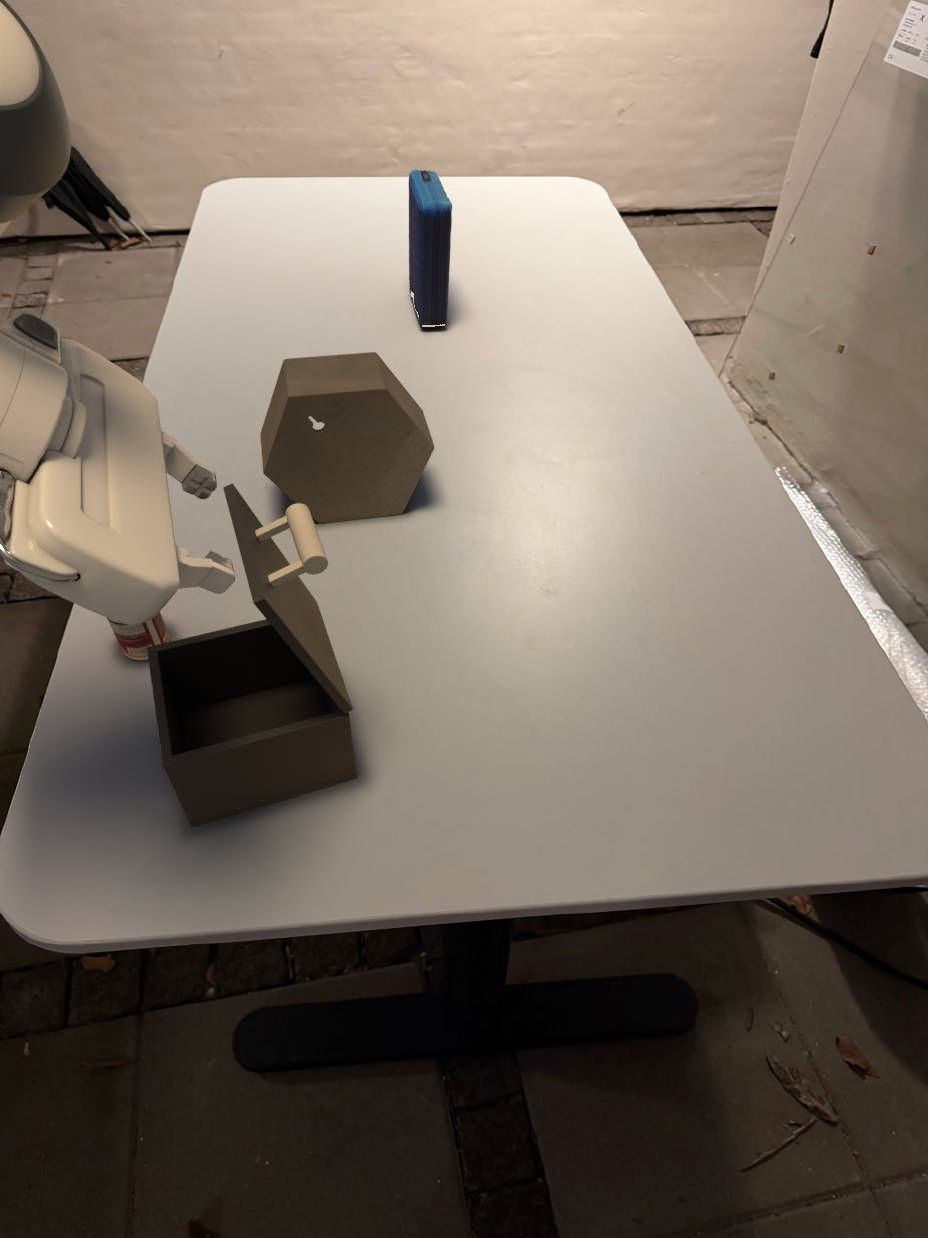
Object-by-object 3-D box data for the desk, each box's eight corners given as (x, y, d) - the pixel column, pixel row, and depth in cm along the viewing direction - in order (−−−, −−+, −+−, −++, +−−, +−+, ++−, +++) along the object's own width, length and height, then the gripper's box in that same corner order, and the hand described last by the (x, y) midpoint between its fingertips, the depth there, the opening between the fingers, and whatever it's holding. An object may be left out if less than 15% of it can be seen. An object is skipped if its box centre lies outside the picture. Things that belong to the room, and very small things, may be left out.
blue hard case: (405, 293, 134) (403, 165, 119) (436, 291, 135) (437, 164, 120) (418, 334, 125) (417, 201, 110) (451, 332, 125) (454, 199, 111)
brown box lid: (253, 603, 50) (324, 569, 50) (222, 487, 58) (284, 457, 58) (344, 714, 62) (401, 686, 62) (309, 606, 70) (360, 581, 70)
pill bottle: (146, 620, 82) (123, 562, 75) (179, 638, 80) (159, 581, 74) (111, 649, 79) (84, 591, 73) (145, 669, 77) (120, 612, 71)
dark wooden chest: (191, 827, 66) (162, 767, 59) (174, 712, 74) (146, 646, 67) (357, 778, 70) (349, 715, 63) (324, 674, 78) (313, 607, 70)
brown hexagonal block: (446, 439, 97) (345, 313, 83) (459, 476, 92) (354, 349, 78) (339, 509, 102) (225, 401, 87) (346, 548, 97) (227, 441, 82)
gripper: (14, 504, 33) (274, 611, 43) (31, 293, 46) (228, 411, 56) (-54, 597, 36) (208, 679, 45) (-19, 371, 48) (179, 472, 58)
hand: (219, 529), depth 51 cm, fingers open, 8 cm apart
